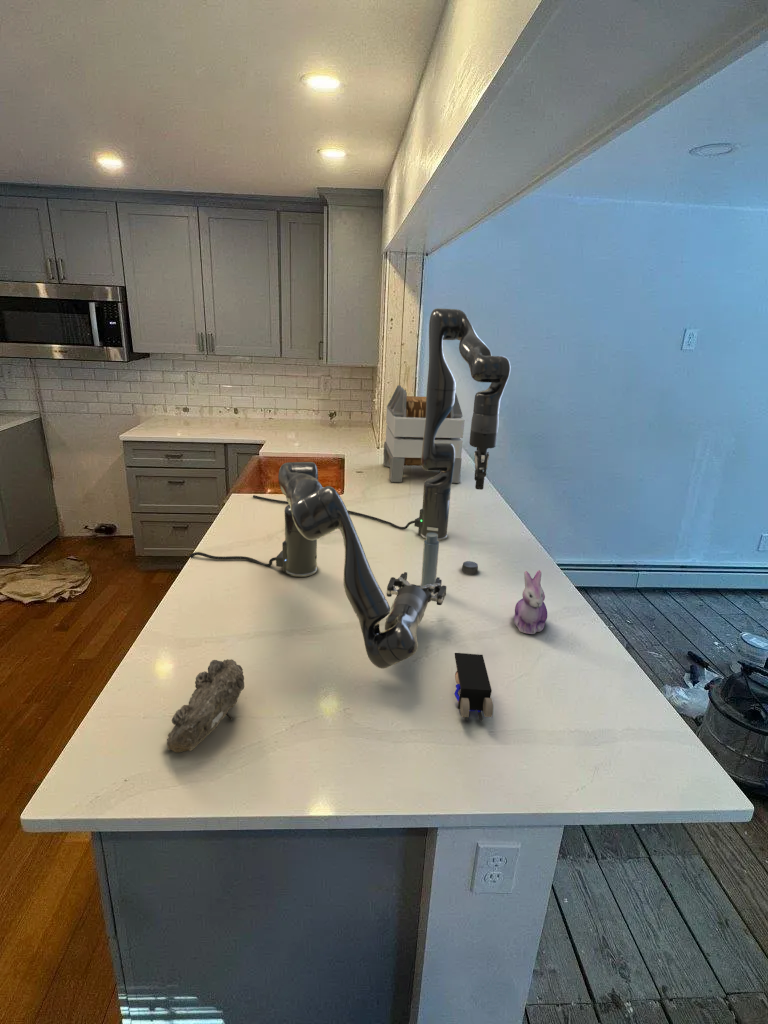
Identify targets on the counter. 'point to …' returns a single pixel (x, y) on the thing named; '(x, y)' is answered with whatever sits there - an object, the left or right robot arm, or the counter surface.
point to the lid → (470, 567)
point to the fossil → (206, 705)
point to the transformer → (417, 433)
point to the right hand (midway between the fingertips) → (478, 484)
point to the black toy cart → (472, 685)
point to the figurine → (531, 606)
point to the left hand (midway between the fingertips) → (421, 577)
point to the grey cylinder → (430, 559)
